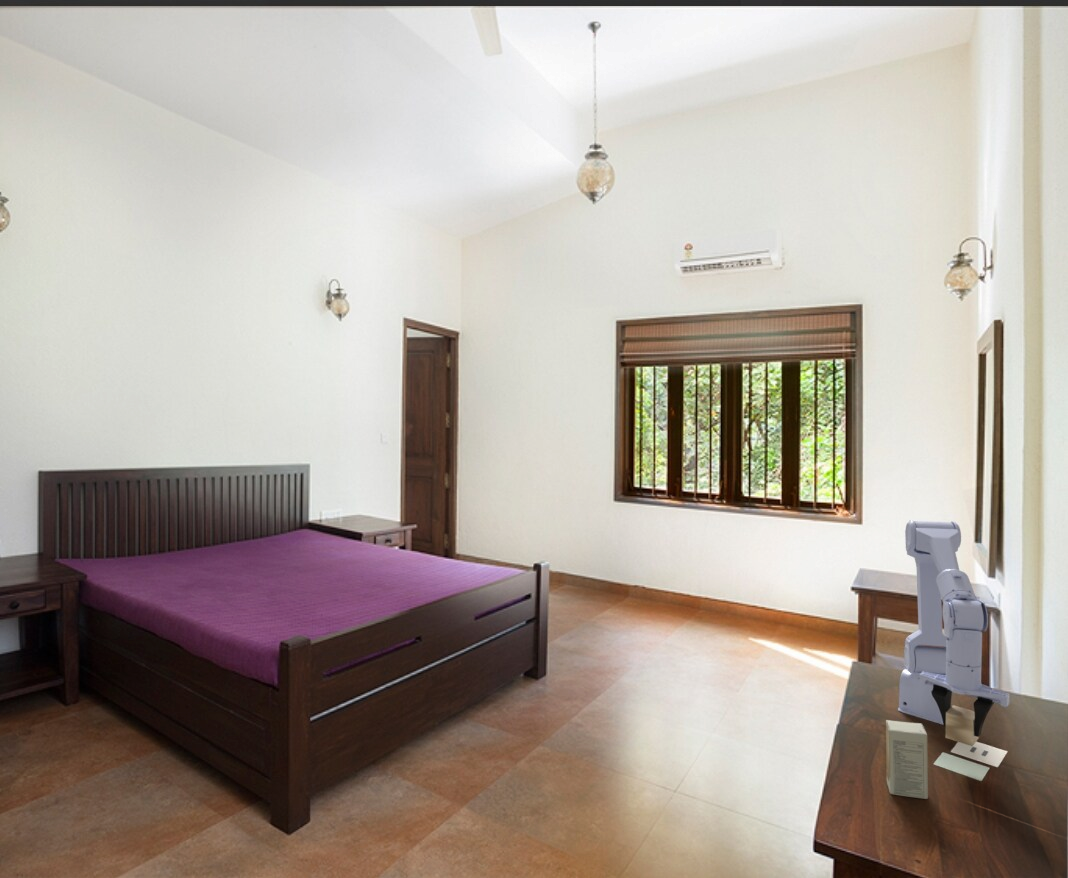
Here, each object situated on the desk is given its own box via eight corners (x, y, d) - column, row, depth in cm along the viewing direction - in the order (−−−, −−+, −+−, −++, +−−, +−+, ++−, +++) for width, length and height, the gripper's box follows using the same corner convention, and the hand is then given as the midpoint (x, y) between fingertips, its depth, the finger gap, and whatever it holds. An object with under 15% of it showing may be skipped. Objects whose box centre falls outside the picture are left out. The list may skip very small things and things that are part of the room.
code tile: (950, 752, 134) (950, 751, 134) (961, 737, 139) (961, 736, 139) (997, 768, 128) (997, 767, 128) (1007, 752, 133) (1007, 751, 133)
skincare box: (922, 786, 122) (924, 723, 122) (928, 800, 118) (929, 734, 118) (884, 781, 125) (885, 718, 124) (888, 794, 120) (889, 729, 120)
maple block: (945, 737, 128) (945, 712, 128) (952, 729, 131) (952, 705, 131) (972, 746, 125) (973, 720, 125) (978, 737, 128) (979, 712, 128)
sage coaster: (933, 765, 129) (933, 764, 129) (942, 753, 133) (942, 752, 133) (981, 782, 123) (981, 780, 123) (989, 769, 128) (989, 767, 128)
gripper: (915, 657, 130) (913, 724, 130) (1003, 679, 119) (1001, 751, 120) (926, 647, 134) (925, 711, 135) (1012, 667, 124) (1011, 737, 125)
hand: (962, 729), depth 128 cm, fingers closed on maple block, 4 cm apart
